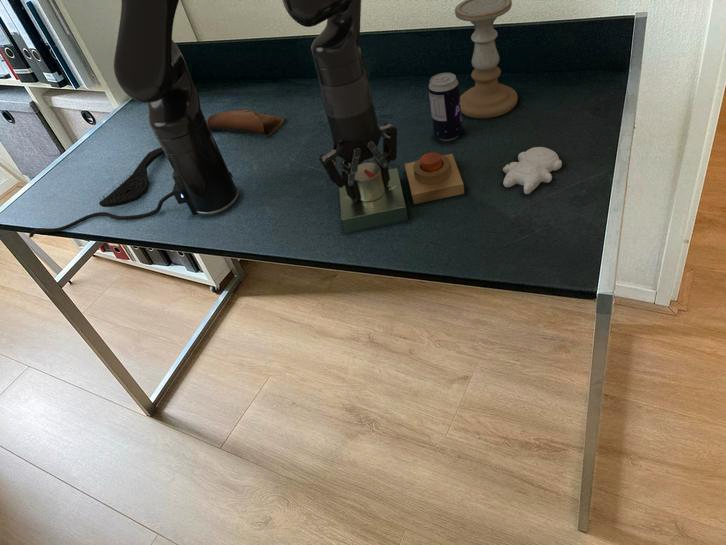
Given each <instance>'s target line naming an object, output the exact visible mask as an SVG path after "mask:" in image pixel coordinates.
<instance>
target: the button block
mask: <svg viewBox="0 0 726 545" xmlns="http://www.w3.org/2000/svg"><path fill="white" fill-rule="evenodd" d="M440 155H441V160H442V167H441V168H440V169H439V170H437V171H433V172H425V171H423V170H422V166H421V157H420V158H419V159H417V160H416V161H411V162H406V163H404V168H405V173H406V174H405V175H406V179H407V184H408V186H409V187H408V188H409V191H410V195H411V200H412V204H413V205H417V204H422V203H427V202H431V201H436V200H441V199H445V198H451V197H455V196H460V195H464V194H465V186H464V185H465V184H464V182H463V179H462V176H461V173H460V170H459V168H458V166H457V162H456V159H455V156H454V154H453V153H448V154H440Z"/></svg>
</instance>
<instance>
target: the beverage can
mask: <svg viewBox="0 0 726 545" xmlns="http://www.w3.org/2000/svg"><path fill="white" fill-rule="evenodd" d="M427 89H428V90H427V91H428V97H429V105H430V106H429V107H430V112H431V120H432V121H431V122H432V129H433V136H435V138H437V139H438V140H440V141H443V142H450V141H453V140H455V139H457V138H459V136H460V135H461V134H462V133H463V130H464V129H463V117H462V113H461V104H460V96H461V95H460V83H459V80H458V79H457V76H456V74H454V73H452V72H442V73H441V72H440V73H437V74H434V75H433V76H431V78H430V79H429V83H428V87H427Z"/></svg>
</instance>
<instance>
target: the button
mask: <svg viewBox="0 0 726 545" xmlns="http://www.w3.org/2000/svg"><path fill="white" fill-rule="evenodd" d="M441 155H442V154H440V153H438V152H435V151H432V152H427V153H425V154H423V155H421V157H420V158H421V166H422V170H423V171H425V172H433V171H437V170H439V169H440V168H441V167H442V160H441Z"/></svg>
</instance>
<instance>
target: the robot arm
mask: <svg viewBox="0 0 726 545" xmlns="http://www.w3.org/2000/svg"><path fill="white" fill-rule="evenodd" d="M179 1H180V0H121V6H120V7H121V8H120V18H119V26H118V32H117V39H116V46H115V53H114V58H113V73H114V76H115V79H116V82H117V84H118V85H119V87H120V89H121V90H122V92H124V93H125V94H126V95H127V96H128V97H129V98H131V99H132V100H134V101H136V102H138V103H142V104H147V109H148V123H149V126H150V128H151V131H152V132H153V135H154V136H155V138H156V140H157V142H158V144H159V145H160V148H161V147H162V149H163V151H164V154H165V156H166V158H167V161H168V162H169V165H170V166H171V168H172V170H173V172H172V175H171V176H172V180H173V181H174V185H173V187H172V191H171V192H169V193H167V194H166V195H164V196H163V197H162V198H161V199H160V200H159V201H158V203H157V206H156V208H155V209H153V210H152V211H149V212H146V213H141V214H134V215H116V214H113V213H109V212H105V211H99V212H94V213H91V214H88V215H84V216H83V217H80V218H78V219H76V220H74V221H73V222H70V223H68V224H65V225H63V226H59V227H52V228H51V227H47V228H46V227H39V228H35V229H33V230H31V231H30V233H29V235H28V238H33V237H34V236H35V234H37V233H57V232H61V231H65V230H69V229H70V228H73V227H74V226H76V225H78V224H80V223H83V222H85V221H87V220H89V219H92V218H97V217H106V218H107V217H108V218H111V219H113V220H118V221H127V220H140V219H144V218H148V217H151V216H154V215H157V213H159V212H160V211H161V209H162V206H163V204H164V203H165V202H166V201H167V200H169V199H170V198H172V197H174V198H175V200H176V202H177V204H178V205H183V204H186V205H187V207H188V209H189V210H190V212H191V214H192V216H200V217H214V216H218V215H221V214H223V213H226V212H227V211H229V210H230V209H232V208H233V207H234V206H235V205H236V204H237V203H238V201H239V200H240V191H239V190H238V187H237V186H236V184H235V181H234V179H233V178H234V177H233V174H232V172H230V170H229V168H228V166H227V164H226V162H225V159H224V157H223V155H222V152H221V151H220V149H219V146H218V144H217V141H216V139H215V137H214V134H213V132H212V130H210V128H209V126H208V124H207V122H208V121H207V120H206V117H205V115H204V113H203V110H202V108H201V101H200V100H201V99H200V94H199V92H198V90H197V87H196V85H195V81H194V80H193V77H192V75H191V72H190V69H189V67H188V65H187V63H186V60H185V58H184V55H183V53H182V52H181V50H180V48H179V46H178V45H177V43H176V42H175V41H174V40H173V29H174V28H173V27H174V20H175V17H176V12H177V9H178V5H179ZM281 1H282V4H283V6H284V8H285V10H286V12H287V13H288V15H289V17H291V19H292V20H293V21H295V22H296V23H297V24H298V25H301V26H302V27H305V28H312V27H315V26H317V25H320V24H321V23H324V22H325V21H326V25H325V27H324V28H323V30H322V31H321V32H320V33H319V35H318V36H316V38H314V40H313V42H312V43H311V46H310V54H311V57H312V60H313V65H314V69H315V72H316V75H317V79H318V84H319V89H320V96H321V101H322V104H323V108H324V112H325V115H326V119H327V122H328V125H329V129H330V134H331V136H332V140H333V146H332V150H330V151H329V152H328V153H327V154H325V153H322V154H320V155H319V156H318V160H319V162H320V163H321V165H322V166H323V168H324V170H325V172H326V173H327V175H328V177H329V178H330V180H331V182H333V183H334V184H335V185H336V186H337V187H338V189H339V188H342V187H343V186H344V185H345V188H346V192H347V195H348V196H349V197H350V198H351V199H352V200H355V201H356V202H357V201H359V200H360V197H359V193H358V189H357V186H356V183H355V182H354V181H355V174H356V173H357V170H358V165H360V164H363V163H364V161H367V160H370V159H372V160H373V161H374V163H375V164H377V165H379V166H380V169H381V174H382V178H383V183H384V187H386V186H388V185H389V184H388V182H389V181H390V176H389V171H388V170H389V163H391V162H393V161H396V159H397V158H398V157H397V156H398V155H397V152H398V148H397V146H398V139H397V138H398V128H397V127H395V126H394V125H393V124H391V123H389V122H387V121H386V122H384V123H383V125H382V126H379V125H378V118H377V113H376V109H375V104H374V99H373V91H372V88H371V84H370V80H369V78H368V76H367V72H366V68H365V64H364V58H363V54H362V50H361V45H360V35H361V19H362V18H361V15H362V0H281ZM381 137H382V152H381V151H380V149H379V148H378V146H379V142H381V141H380V140H381ZM338 157H339V158H341V162H340V163H341V164H340V165H341V173H339V170H338V169H337V165H338V164H337V163H338V161H337V158H338Z"/></svg>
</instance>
